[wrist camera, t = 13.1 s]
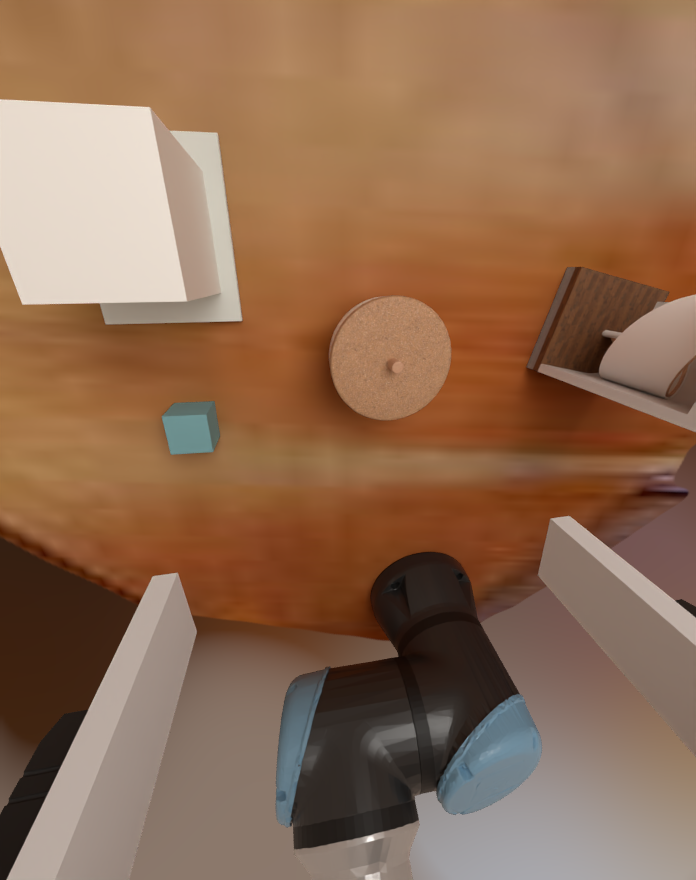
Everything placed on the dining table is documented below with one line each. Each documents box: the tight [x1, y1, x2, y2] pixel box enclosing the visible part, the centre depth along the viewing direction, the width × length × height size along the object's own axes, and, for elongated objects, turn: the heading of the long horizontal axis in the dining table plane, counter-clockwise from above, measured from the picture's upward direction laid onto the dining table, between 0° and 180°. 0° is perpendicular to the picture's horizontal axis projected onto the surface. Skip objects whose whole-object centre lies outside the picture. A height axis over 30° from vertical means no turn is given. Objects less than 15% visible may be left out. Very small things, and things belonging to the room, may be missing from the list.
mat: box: [100, 131, 243, 324], centre depth 30 cm, size 14×12×1 cm
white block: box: [0, 99, 221, 304], centre depth 24 cm, size 9×9×12 cm
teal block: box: [162, 401, 220, 454], centre depth 35 cm, size 4×4×4 cm
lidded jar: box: [329, 295, 451, 420], centre depth 33 cm, size 11×11×9 cm
